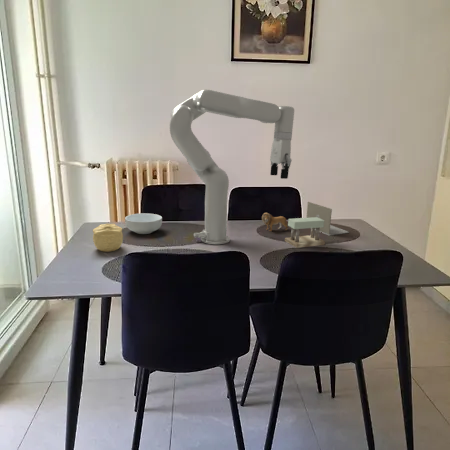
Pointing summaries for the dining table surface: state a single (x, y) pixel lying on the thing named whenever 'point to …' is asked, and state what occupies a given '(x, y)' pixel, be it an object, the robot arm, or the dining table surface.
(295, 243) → the peg stand
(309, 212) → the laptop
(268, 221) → the lion figurine
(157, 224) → the cereal bowl
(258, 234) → the dining table surface
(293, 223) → the pale green block
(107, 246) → the sculpture
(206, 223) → the robot arm
